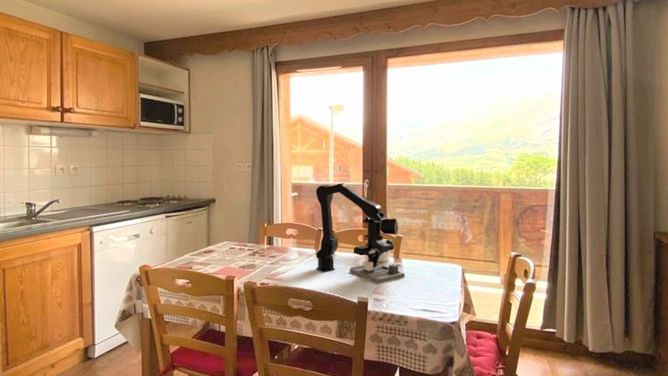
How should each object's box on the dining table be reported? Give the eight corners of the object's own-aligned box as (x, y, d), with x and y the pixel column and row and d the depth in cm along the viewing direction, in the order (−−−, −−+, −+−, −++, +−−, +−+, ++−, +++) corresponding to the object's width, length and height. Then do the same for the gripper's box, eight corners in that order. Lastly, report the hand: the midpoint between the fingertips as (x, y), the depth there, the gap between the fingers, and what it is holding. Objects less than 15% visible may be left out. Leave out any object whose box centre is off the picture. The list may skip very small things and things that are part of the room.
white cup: (389, 262, 201) (389, 242, 200) (373, 261, 202) (373, 242, 202) (390, 258, 209) (390, 239, 208) (375, 257, 210) (375, 238, 209)
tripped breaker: (368, 273, 175) (368, 263, 175) (363, 271, 179) (363, 261, 178) (374, 272, 177) (374, 262, 177) (368, 270, 180) (368, 260, 180)
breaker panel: (378, 283, 168) (378, 271, 167) (349, 271, 185) (349, 260, 184) (404, 277, 176) (404, 265, 176) (375, 266, 193) (375, 256, 193)
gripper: (368, 238, 166) (368, 275, 168) (402, 233, 177) (402, 268, 178) (352, 234, 176) (353, 269, 177) (385, 229, 186) (385, 262, 187)
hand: (374, 267), depth 179 cm, fingers closed
